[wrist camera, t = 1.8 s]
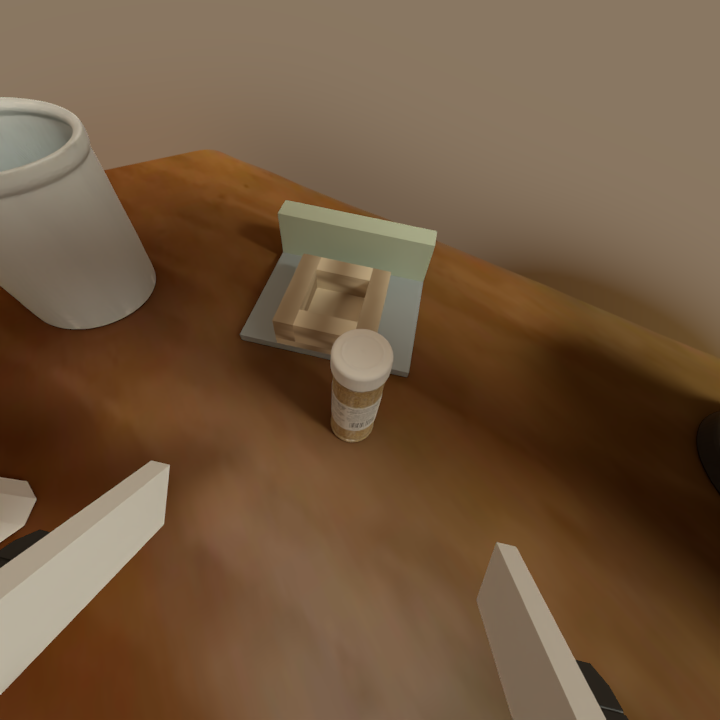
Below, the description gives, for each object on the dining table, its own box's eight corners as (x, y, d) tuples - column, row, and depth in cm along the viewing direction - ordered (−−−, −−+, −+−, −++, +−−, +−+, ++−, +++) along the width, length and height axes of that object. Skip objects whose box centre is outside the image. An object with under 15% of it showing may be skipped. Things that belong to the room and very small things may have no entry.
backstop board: (423, 272, 48) (437, 231, 42) (407, 377, 38) (421, 342, 32) (290, 244, 49) (285, 200, 43) (241, 339, 39) (226, 298, 33)
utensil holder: (94, 236, 47) (-13, 81, 32) (187, 267, 45) (118, 118, 30) (-2, 309, 39) (-204, 148, 24) (106, 350, 37) (-41, 204, 22)
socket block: (386, 295, 44) (391, 272, 40) (370, 363, 38) (374, 343, 34) (305, 277, 44) (303, 253, 41) (276, 342, 38) (272, 320, 35)
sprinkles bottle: (371, 403, 36) (391, 326, 25) (374, 443, 34) (398, 379, 22) (329, 403, 36) (330, 325, 24) (329, 444, 33) (330, 379, 22)
